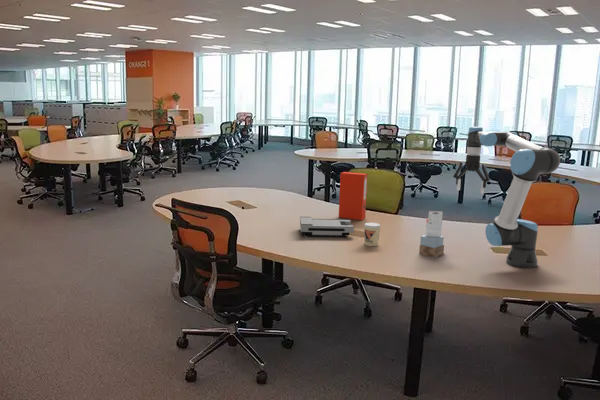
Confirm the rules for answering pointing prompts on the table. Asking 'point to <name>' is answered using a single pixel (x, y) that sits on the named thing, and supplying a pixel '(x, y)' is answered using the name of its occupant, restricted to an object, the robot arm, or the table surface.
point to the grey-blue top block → (431, 241)
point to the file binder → (352, 195)
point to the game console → (325, 227)
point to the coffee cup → (371, 233)
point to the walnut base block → (431, 251)
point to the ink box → (434, 224)
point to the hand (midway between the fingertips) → (470, 191)
